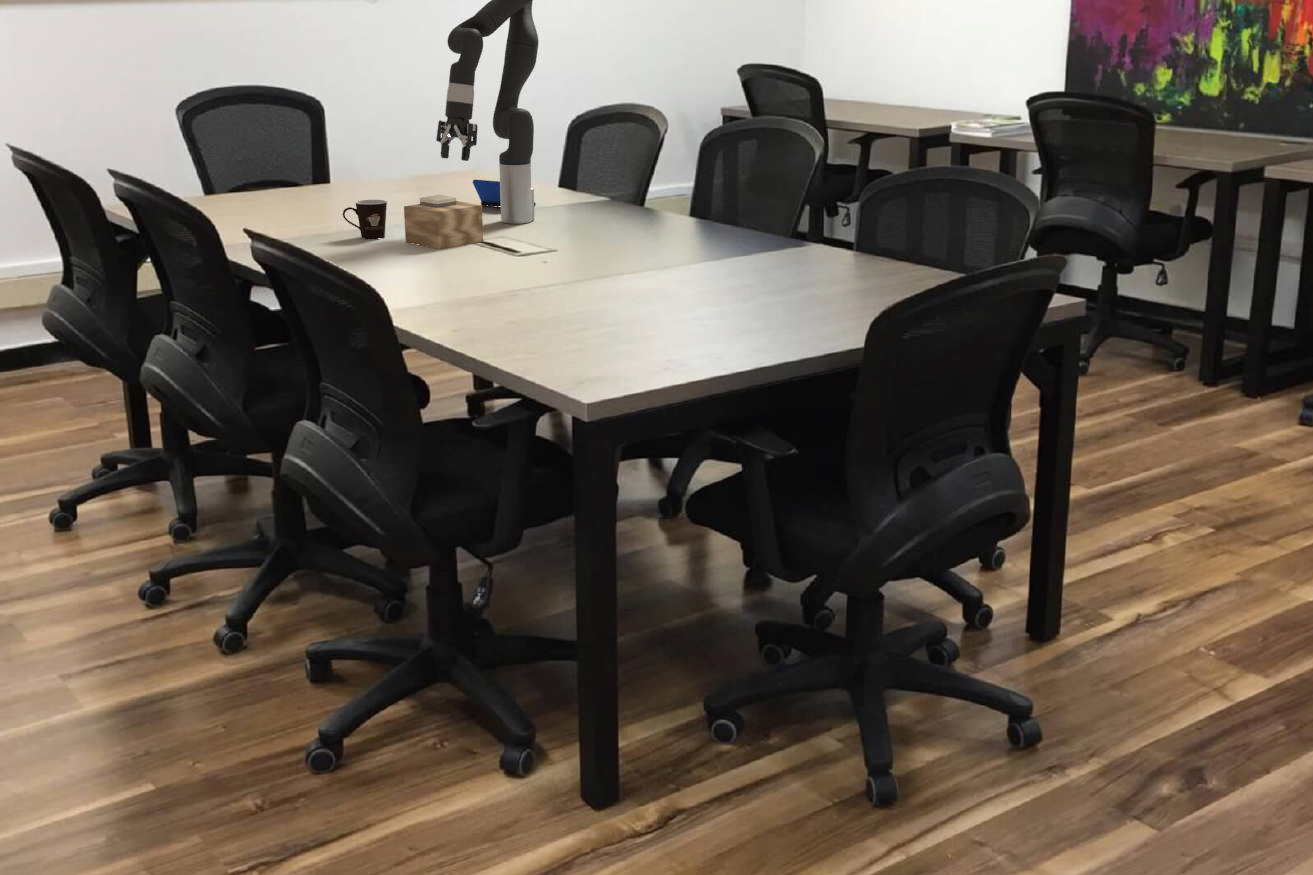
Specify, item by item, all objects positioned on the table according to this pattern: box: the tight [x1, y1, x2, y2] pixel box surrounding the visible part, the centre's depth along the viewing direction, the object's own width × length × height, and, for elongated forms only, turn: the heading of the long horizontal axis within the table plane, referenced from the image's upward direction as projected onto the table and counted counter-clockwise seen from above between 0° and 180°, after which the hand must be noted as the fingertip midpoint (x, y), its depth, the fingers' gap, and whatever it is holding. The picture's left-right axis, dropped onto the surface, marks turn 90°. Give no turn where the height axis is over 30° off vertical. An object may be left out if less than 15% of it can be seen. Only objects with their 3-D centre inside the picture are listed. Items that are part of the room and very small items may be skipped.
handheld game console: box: [472, 179, 537, 207], centre depth 468 cm, size 16×13×9 cm
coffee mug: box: [342, 199, 388, 240], centre depth 416 cm, size 12×9×10 cm
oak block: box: [403, 200, 484, 250], centre depth 410 cm, size 16×14×10 cm
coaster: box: [419, 194, 457, 208], centre depth 409 cm, size 7×7×2 cm
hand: (454, 159), depth 420 cm, fingers open, 8 cm apart
